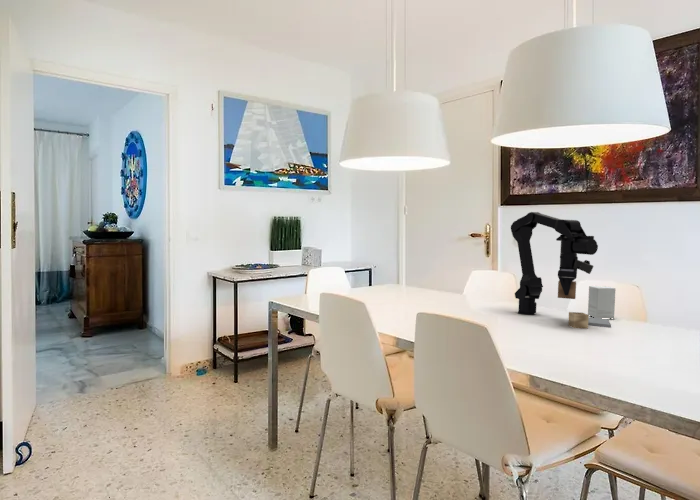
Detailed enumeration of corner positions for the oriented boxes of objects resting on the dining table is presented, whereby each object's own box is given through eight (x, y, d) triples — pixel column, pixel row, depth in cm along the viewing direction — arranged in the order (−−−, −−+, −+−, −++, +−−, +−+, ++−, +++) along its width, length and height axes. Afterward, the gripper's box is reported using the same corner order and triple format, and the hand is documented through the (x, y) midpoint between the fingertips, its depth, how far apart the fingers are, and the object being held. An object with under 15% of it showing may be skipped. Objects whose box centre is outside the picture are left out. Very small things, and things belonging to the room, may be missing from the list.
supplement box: (614, 319, 186) (616, 288, 185) (596, 319, 186) (597, 287, 186) (605, 316, 193) (606, 285, 193) (587, 315, 194) (588, 285, 193)
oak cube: (573, 328, 169) (574, 314, 168) (568, 325, 174) (568, 312, 173) (587, 328, 168) (588, 315, 168) (582, 325, 173) (582, 312, 173)
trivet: (574, 324, 176) (574, 321, 176) (573, 318, 187) (574, 316, 187) (610, 327, 171) (611, 324, 171) (607, 321, 182) (608, 319, 182)
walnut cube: (557, 297, 175) (558, 281, 175) (558, 295, 181) (559, 280, 180) (575, 299, 173) (576, 283, 172) (575, 297, 178) (576, 281, 178)
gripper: (593, 255, 164) (591, 299, 165) (592, 253, 181) (590, 293, 181) (558, 253, 169) (556, 296, 170) (560, 251, 186) (559, 290, 186)
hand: (566, 294), depth 177 cm, fingers closed on walnut cube, 6 cm apart
